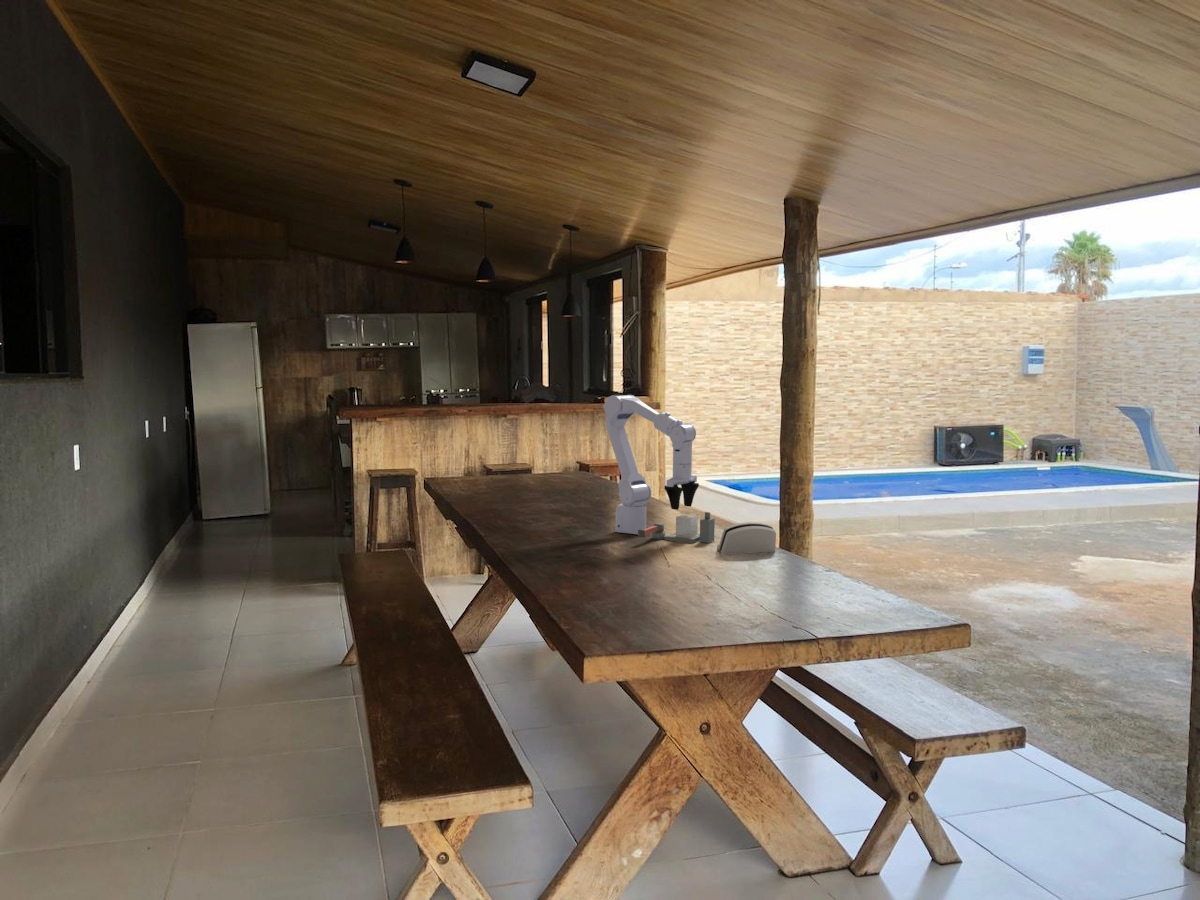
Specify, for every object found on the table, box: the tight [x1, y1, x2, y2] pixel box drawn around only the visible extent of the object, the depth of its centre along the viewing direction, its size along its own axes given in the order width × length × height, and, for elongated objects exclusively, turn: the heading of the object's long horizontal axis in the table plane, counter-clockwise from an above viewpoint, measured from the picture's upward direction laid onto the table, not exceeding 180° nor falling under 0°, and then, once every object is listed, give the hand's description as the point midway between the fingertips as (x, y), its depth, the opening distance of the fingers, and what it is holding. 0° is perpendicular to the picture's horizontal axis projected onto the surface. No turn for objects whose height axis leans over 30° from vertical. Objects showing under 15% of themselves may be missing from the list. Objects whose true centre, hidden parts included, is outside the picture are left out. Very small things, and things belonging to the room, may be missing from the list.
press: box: [651, 511, 716, 544], centre depth 287 cm, size 18×10×9 cm, turn 59°
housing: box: [675, 513, 699, 538], centre depth 287 cm, size 5×5×6 cm
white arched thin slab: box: [716, 521, 777, 555], centre depth 269 cm, size 17×5×10 cm, turn 105°
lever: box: [637, 522, 665, 538], centre depth 284 cm, size 3×14×2 cm, turn 149°
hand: (681, 507), depth 286 cm, fingers open, 7 cm apart
